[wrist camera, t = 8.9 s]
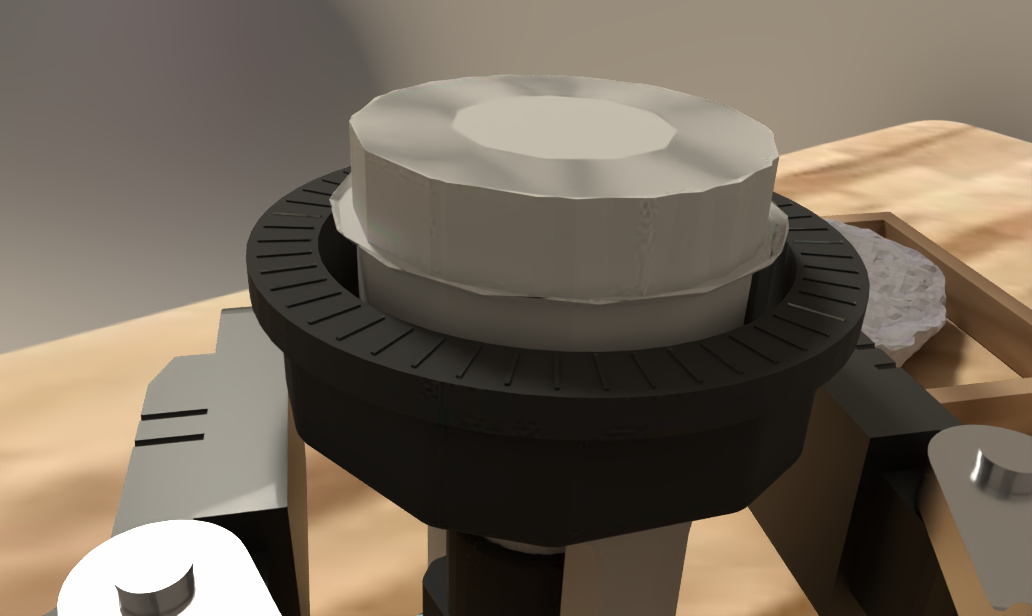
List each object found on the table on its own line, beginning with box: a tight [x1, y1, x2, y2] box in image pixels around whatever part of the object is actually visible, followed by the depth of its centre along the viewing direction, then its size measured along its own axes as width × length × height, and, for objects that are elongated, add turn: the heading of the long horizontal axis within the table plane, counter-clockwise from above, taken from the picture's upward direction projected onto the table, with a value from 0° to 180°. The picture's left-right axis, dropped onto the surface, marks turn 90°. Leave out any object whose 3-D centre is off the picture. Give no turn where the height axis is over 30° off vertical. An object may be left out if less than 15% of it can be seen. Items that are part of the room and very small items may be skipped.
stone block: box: [824, 219, 947, 368], centre depth 46 cm, size 12×5×10 cm
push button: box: [246, 75, 870, 616], centre depth 10 cm, size 7×5×10 cm
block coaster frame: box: [821, 212, 1032, 437], centre depth 45 cm, size 16×18×2 cm
